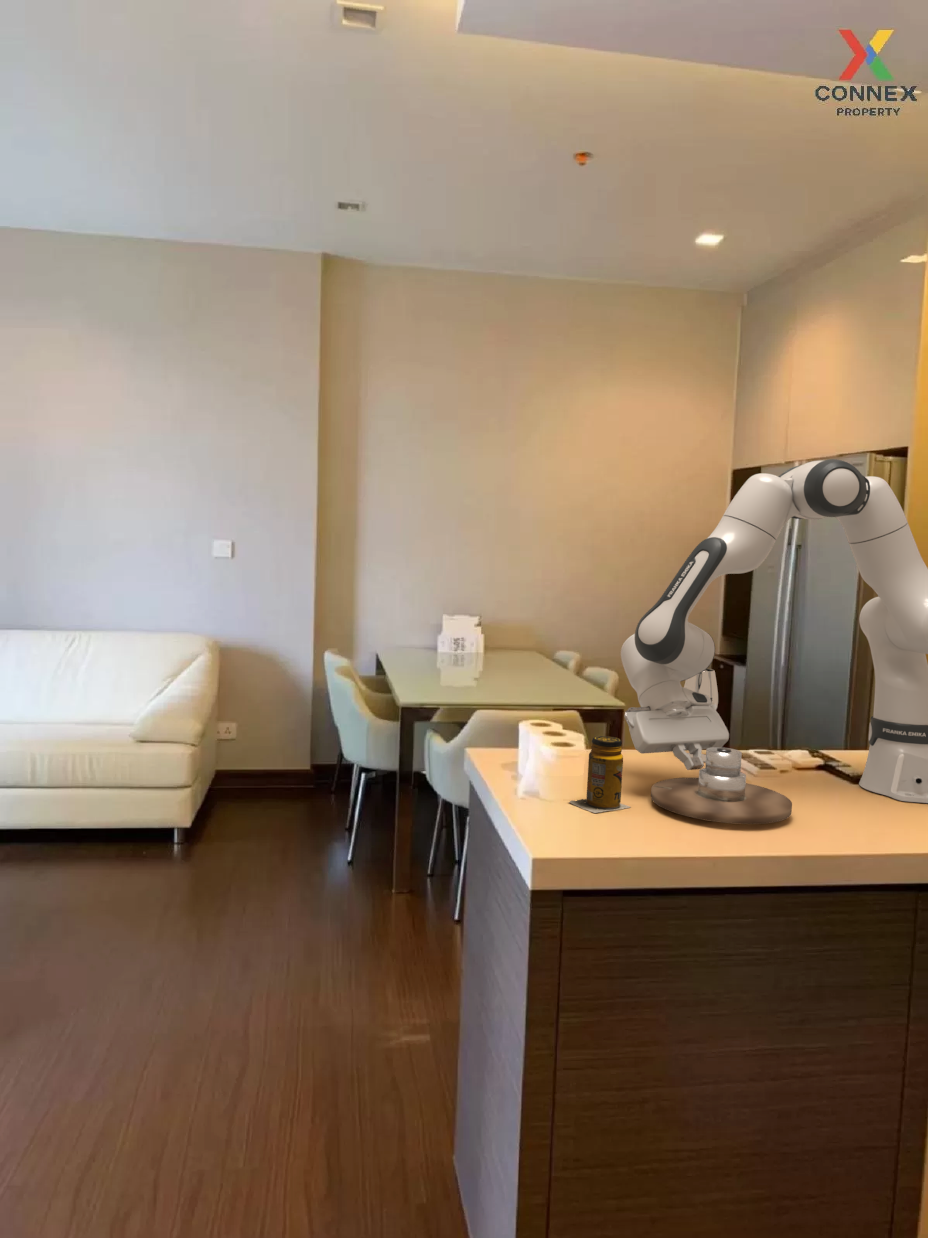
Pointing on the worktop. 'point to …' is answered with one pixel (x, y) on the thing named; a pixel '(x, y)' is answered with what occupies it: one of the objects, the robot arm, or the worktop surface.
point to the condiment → (604, 776)
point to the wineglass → (704, 690)
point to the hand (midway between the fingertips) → (696, 768)
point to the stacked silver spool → (722, 775)
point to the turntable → (721, 803)
